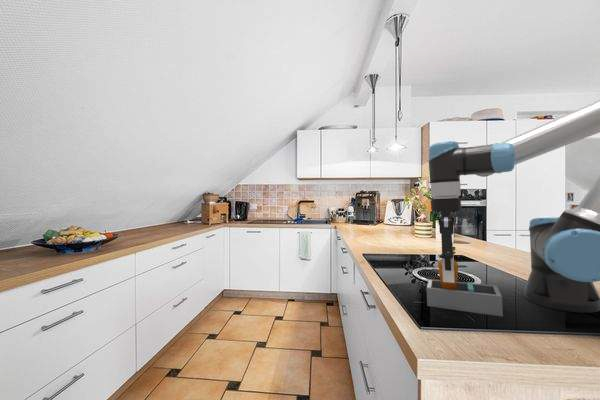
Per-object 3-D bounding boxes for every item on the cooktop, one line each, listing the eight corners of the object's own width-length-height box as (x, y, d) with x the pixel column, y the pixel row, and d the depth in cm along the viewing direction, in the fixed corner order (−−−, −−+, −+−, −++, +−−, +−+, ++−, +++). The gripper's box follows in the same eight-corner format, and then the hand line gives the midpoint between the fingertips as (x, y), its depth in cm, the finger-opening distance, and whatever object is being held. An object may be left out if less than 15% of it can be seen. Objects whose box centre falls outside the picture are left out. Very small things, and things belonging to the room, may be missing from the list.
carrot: (456, 296, 78) (454, 245, 78) (462, 303, 73) (459, 248, 74) (438, 296, 80) (435, 245, 80) (442, 302, 75) (439, 248, 75)
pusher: (472, 298, 76) (472, 282, 76) (474, 306, 71) (473, 289, 71) (467, 297, 77) (467, 282, 77) (469, 305, 72) (468, 288, 72)
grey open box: (497, 303, 75) (496, 285, 75) (502, 316, 67) (502, 296, 67) (429, 295, 83) (428, 279, 83) (427, 306, 75) (426, 288, 75)
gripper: (432, 197, 88) (435, 266, 88) (427, 199, 69) (431, 287, 69) (459, 196, 84) (462, 268, 84) (462, 197, 65) (466, 290, 65)
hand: (448, 276), depth 76 cm, fingers open, 9 cm apart
